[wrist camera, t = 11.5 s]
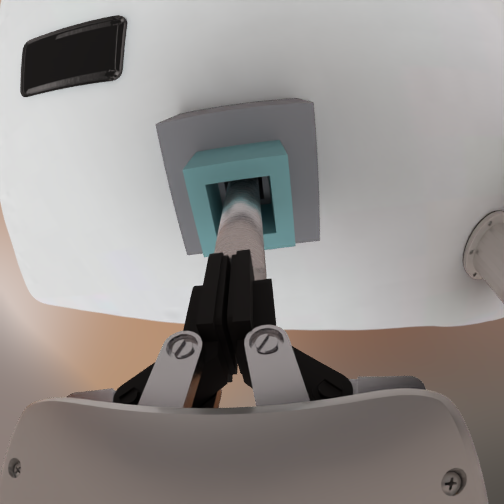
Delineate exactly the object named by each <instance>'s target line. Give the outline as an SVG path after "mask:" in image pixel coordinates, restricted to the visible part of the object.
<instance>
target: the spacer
mask: <svg viewBox="0 0 504 504" xmlns="http://www.w3.org/2000/svg"><path fill="white" fill-rule="evenodd" d="M183 175H184V179H185V183H186V188H187V192H188V196H189V200H190V204H191V208H192V212H193V216H194V220H195V224H196V228H197V232H198V236H199V240H200V244H201V247H202V251H203V255H204V257H209V254H212V253H214V251H215V245H216V240H217V235H218V230H219V225H220V220H221V215H222V210H223V206H222V201H221V196H220V191H219V186H218V183H220V182H226V181H233V180H240V179H248V178H255V177H263V176H268V179H269V187H270V195H271V204H264V205H261V216H262V228H263V240H264V250H267V249H275V248H284V247H292V246H295V232H294V219H293V207H292V195H291V184H290V174H289V163H288V154H287V153H286V151H285V149H284V147H283V145H282V144H281V142H280V140H274V141H265V142H257V143H249V144H242V145H235V146H229V147H222V148H216V149H210V150H205V151H199V152H196V153H195V154H194V156H193V157H192V158H191V159H190V161H189V162H188V163H187V165H186V166H185V167H184V169H183Z"/></svg>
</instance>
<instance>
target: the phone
mask: <svg viewBox="0 0 504 504" xmlns="http://www.w3.org/2000/svg"><path fill="white" fill-rule="evenodd" d="M126 29H127V21H126V19H125V18H124V17H122V16H119V15H118V16H111V17H106V18H101V19H97V20H92V21H88V22H84V23H81V24H77V25H73V26H70V27H66V28H63V29H60V30H57V31H54V32H51V33H48V34H45V35H42V36H39V37H37V38H34V39H31V40H29V41H28V42H27V43H26V44H25V45H24V47H23V53H22V65H21V87H20V91H21V95H22V96H23V97H29V96H33V95H37V94H41V93H45V92H49V91H54V90H58V89H63V88H68V87H74V86H79V85H85V84H92V83H99V82H106V81H113V80H116V79H118V78H119V77H120V76H121V74H122V70H123V57H124V46H125V37H126Z"/></svg>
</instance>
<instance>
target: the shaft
mask: <svg viewBox="0 0 504 504" xmlns="http://www.w3.org/2000/svg"><path fill="white" fill-rule="evenodd" d="M248 249H250V252H251V258H252V265H253V271H254V278H255V280H263V279H266V264H265V252H264V240H263V228H262V216H261V204H260V193H259V181H258V177H255V178H248V179H240V180H233V181H228V186H227V191H226V195H225V200H224V205H223V210H222V215H221V220H220V225H219V230H218V235H217V240H216V245H215V251H214V253H221V252H223V254H224V256H225V255H228V256H229V260H230V265H231V259H232V255H234V254H236V252H237V251H239V250H248Z"/></svg>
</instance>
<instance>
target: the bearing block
mask: <svg viewBox="0 0 504 504" xmlns="http://www.w3.org/2000/svg"><path fill="white" fill-rule="evenodd" d="M156 128H157V133H158V138H159V143H160V148H161V152H162V157H163V161H164V166H165V170H166V174H167V179H168V183H169V187H170V191H171V195H172V199H173V203H174V207H175V211H176V215H177V219H178V223H179V226H180V230H181V234H182V238H183V241H184V245H185V248H186V252H187V255H193V254H202V253H203V251H202V247H201V244H200V240H199V236H198V232H197V228H196V224H195V220H194V216H193V212H192V208H191V204H190V200H189V196H188V192H187V188H186V183H185V179H184V175H183V169H184V167H185V166H186V165H187V163H188V162H189V161H190V159H191V158H192V157H193V156H194V154H195V153H196V152H199V151H205V150H210V149H216V148H222V147H229V146H235V145H242V144H249V143H257V142H265V141H274V140H280V142H281V144H282V145H283V147H284V149H285V151H286V153H287V154H288V163H289V174H290V184H291V195H292V207H293V219H294V232H295V243H303V242H312V241H320V217H319V181H318V159H317V142H316V127H315V114H314V103H313V102H310V101H306V100H302V99H297V98H295V99H281V100H269V101H259V102H250V103H242V104H235V105H228V106H221V107H215V108H209V109H203V110H198V111H193V112H187V113H183V114H178V115H176V116H174V117H171V118H169V119H167V120H164V121H162V122H160V123H158V124H156ZM258 181H259V193H260V204H261V205H264V204H271V195H270V187H269V179H268V176H263V177H258ZM218 186H219V191H220V196H221V201H222V206H223V205H224V200H225V195H226V191H227V186H228V181H226V182H220V183H218Z"/></svg>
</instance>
